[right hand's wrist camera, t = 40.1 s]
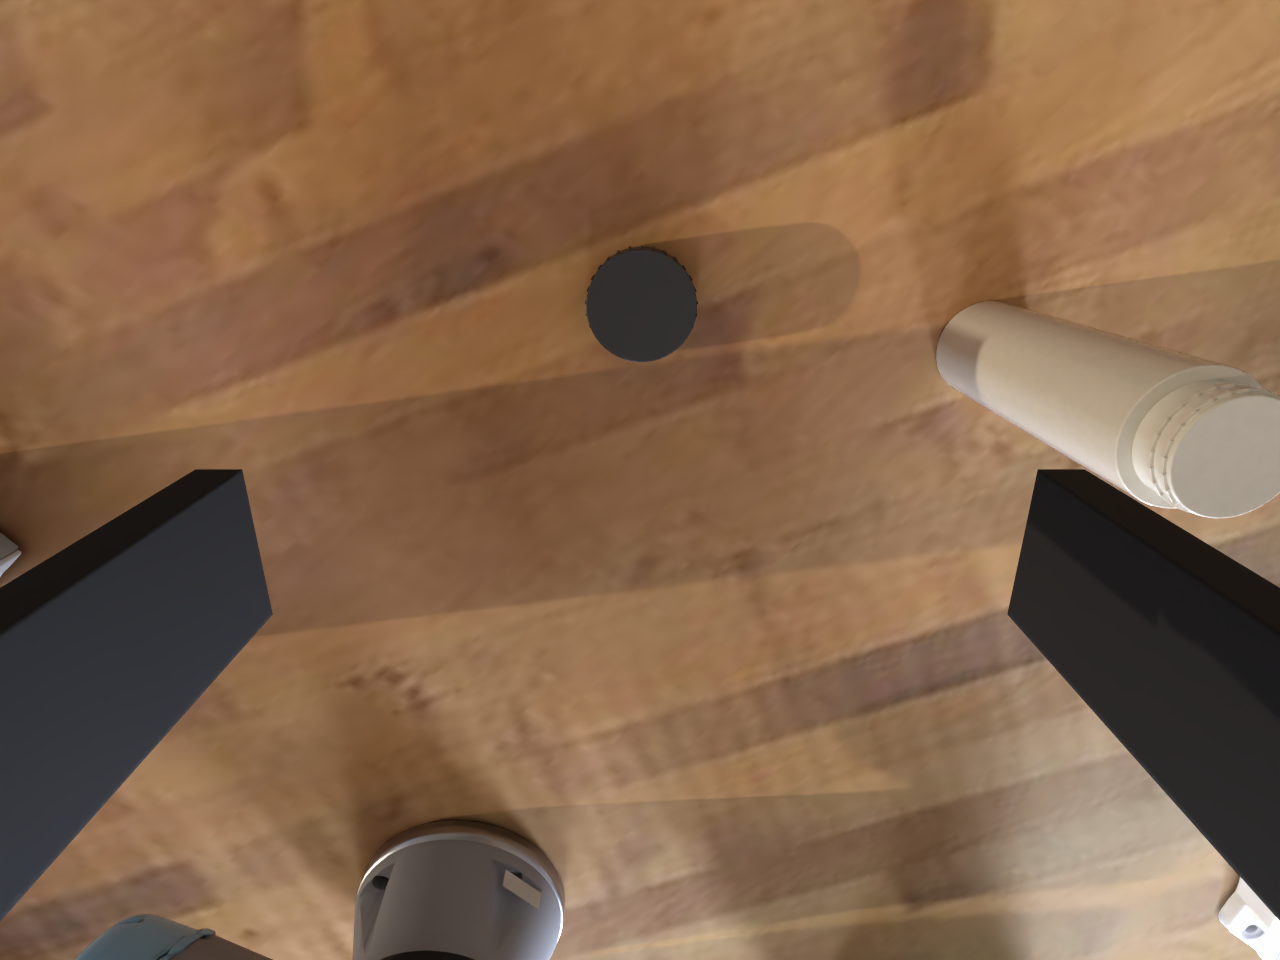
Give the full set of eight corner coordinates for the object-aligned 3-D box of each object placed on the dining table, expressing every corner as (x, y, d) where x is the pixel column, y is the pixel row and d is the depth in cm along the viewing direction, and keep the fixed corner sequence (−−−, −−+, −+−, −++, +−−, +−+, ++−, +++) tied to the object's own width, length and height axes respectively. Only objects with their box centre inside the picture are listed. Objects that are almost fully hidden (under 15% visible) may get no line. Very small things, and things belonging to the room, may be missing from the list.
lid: (627, 375, 41) (626, 384, 39) (566, 286, 39) (562, 291, 37) (715, 316, 40) (719, 323, 38) (656, 222, 38) (657, 223, 36)
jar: (1002, 280, 39) (1288, 344, 22) (1047, 356, 41) (1347, 471, 23) (918, 340, 40) (1125, 446, 23) (964, 412, 42) (1192, 561, 25)
